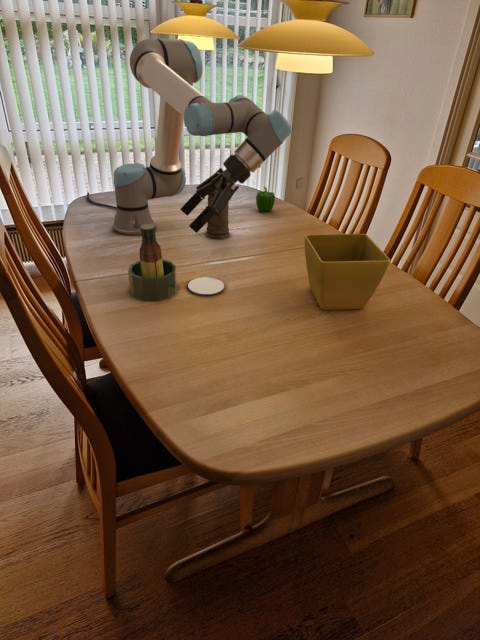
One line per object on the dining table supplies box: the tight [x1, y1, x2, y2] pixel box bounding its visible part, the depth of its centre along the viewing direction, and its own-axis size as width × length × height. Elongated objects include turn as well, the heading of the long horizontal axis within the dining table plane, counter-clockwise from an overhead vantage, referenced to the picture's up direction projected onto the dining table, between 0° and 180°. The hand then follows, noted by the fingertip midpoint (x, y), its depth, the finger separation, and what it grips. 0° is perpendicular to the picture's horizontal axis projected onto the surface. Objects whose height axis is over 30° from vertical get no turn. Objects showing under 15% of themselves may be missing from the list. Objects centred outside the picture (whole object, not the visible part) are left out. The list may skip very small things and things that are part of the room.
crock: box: [127, 258, 178, 302], centre depth 128 cm, size 13×13×7 cm
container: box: [205, 190, 230, 240], centre depth 164 cm, size 9×9×18 cm
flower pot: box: [304, 233, 391, 311], centre depth 126 cm, size 19×19×17 cm
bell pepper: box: [255, 186, 276, 213], centre depth 193 cm, size 8×8×10 cm
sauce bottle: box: [139, 224, 164, 278], centre depth 125 cm, size 6×6×20 cm
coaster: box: [187, 276, 225, 297], centre depth 133 cm, size 11×11×1 cm
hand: (187, 220), depth 122 cm, fingers open, 13 cm apart
